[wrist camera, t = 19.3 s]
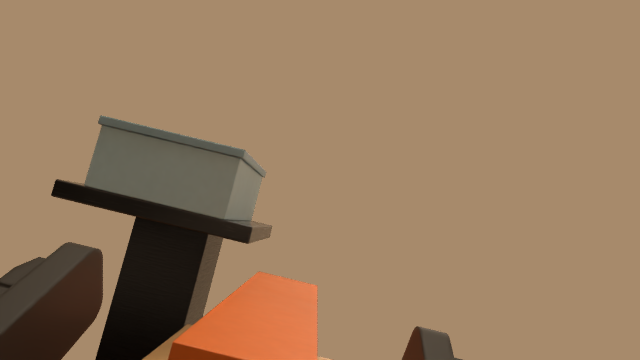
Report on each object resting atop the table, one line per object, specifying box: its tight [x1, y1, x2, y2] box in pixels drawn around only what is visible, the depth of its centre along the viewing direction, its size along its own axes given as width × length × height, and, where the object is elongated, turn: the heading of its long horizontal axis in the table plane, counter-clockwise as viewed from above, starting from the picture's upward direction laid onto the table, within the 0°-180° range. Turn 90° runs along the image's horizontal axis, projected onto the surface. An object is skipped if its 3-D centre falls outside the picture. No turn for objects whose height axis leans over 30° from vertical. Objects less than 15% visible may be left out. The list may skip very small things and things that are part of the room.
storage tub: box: [84, 116, 266, 221], centre depth 35 cm, size 10×12×5 cm
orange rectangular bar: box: [168, 272, 317, 360], centre depth 22 cm, size 4×19×4 cm, turn 0°
